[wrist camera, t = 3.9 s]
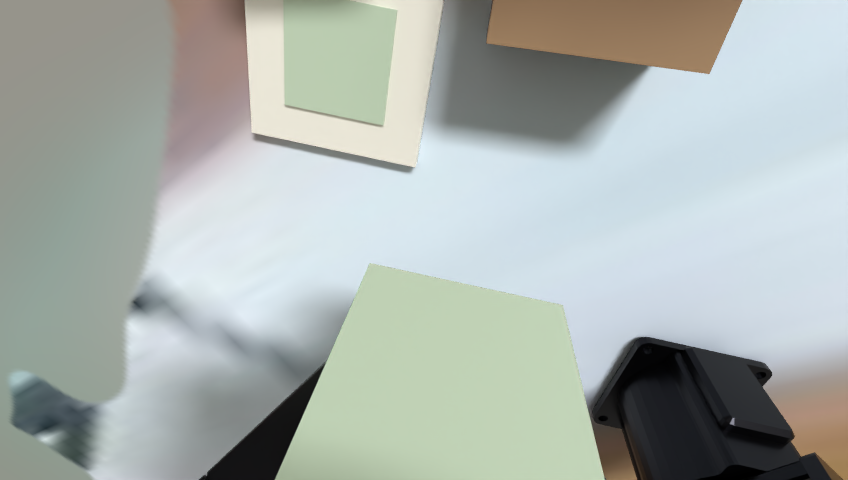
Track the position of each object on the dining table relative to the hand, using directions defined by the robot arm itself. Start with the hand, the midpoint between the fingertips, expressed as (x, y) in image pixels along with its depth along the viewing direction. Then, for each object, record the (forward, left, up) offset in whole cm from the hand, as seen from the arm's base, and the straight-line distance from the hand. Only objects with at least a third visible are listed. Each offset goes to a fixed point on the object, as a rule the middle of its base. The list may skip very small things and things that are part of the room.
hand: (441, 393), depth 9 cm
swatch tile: (+5, +6, -10) cm, 13 cm away
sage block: (0, 0, -1) cm, 1 cm away
